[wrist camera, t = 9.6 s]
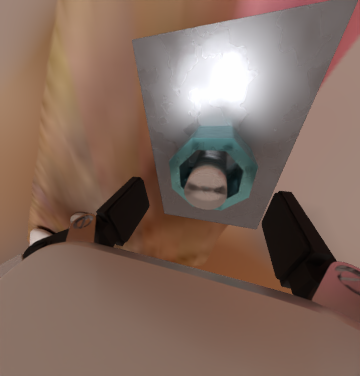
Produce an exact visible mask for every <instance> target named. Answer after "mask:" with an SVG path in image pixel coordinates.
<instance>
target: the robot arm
mask: <svg viewBox="0 0 360 376" xmlns="http://www.w3.org/2000/svg"><path fill="white" fill-rule="evenodd" d="M148 208H149V201H148V197H147V193H146V189H145V185H144V182H143V180H142V179H141V178H140V177H132V178H131V179H130V180H129V181H128V182H127V183H126V184H125V185H124V186H122V187H121V188H120V189H119V190H118V191H117V192H116V193H115V194H114V195H113V196H112V197H111V198H110V199H109V200H108V201H107V202H106V203H104V204H103V205H102V206H101V207H100V208H99V209H98V210H97V211H96V212H97V215H96V216H95V215H94V214H92V213H89V214H85V213H75V214H74V215H73V216H72V217H71V218H70V221H71V225H70V227H69V228H68V229H66V230H64V231H61V232H58V233H56V234H53V235H50V236H48V237H45V238H42V239H40V240H38V241H36V242H34V243H33V244H32V245H31V246H30V247H28V249H27V250H26V251H25V252H24V254H19V255H18V256H16V257H14V258H12V259H10V260H8V261H7V262H5V263H3V264H1V265H0V376H360V269H359V268H357V267H355V266H353V265H351V264H348V263H345V262H339V261H336V259H335V258H334V256H333V255H332V253H331V252H330V250H329V249H328V247H327V245H326V244H325V242H324V241H323V239H322V238H321V236H320V235H319V233H318V232H317V230H316V229H315V227H314V226H313V224H312V222H311V221H310V219H309V218H308V217H307V215H306V214H305V212H304V210H303V209H302V207H301V206H300V204H299V203H298V201H297V200H296V198H295V197H294V195H293V194H292V192H285V191H279V192H278V193H275V194H274V196H273V198H272V200H271V203H270V205H269V207H268V210H267V212H266V214H265V216H264V218H263V220H262V228H263V232H264V236H265V239H266V243H267V247H268V250H269V253H270V258H271V261H272V265H273V269H274V272H275V276H276V278H277V279H279V280H280V283H281V286H282V287H287V288H291V290H292V293H293V295H291V294H288V293H285V292H281V291H277V290H274V289H271V288H267V287H263V286H259V285H256V284H253V283H249V282H245V281H241V280H238V279H234V278H230V277H226V276H222V275H219V274H215V273H211V272H207V271H204V270H200V269H196V268H192V267H188V266H184V265H180V264H177V263H173V262H169V261H165V260H161V259H157V258H153V257H149V256H145V255H141V254H138V253H134V252H130V251H126V250H122V249H118V248H114V245H115V244H116V245H119V246H123V245H124V243H125V242H127V241H128V239H129V238H130V236H131V235H132V233H133V232H134V230H135V229H136V227H137V225H138V224H139V222H140V221H141V219H142V218H143V216H144V215H145V213H146V211H147V210H148Z"/></svg>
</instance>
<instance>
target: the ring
mask: <svg viewBox="0 0 360 376" xmlns="http://www.w3.org/2000/svg"><path fill="white" fill-rule="evenodd" d="M196 150H213V151H226V152H227V153H228V154H229V155H230V156H231V157H232V158H233V160H234V161H235V162H236V163H237V168H236V171H235V172H233V173H232V174H230V175H228V176H227V198H226V200H225V202H224V203H223V204H222V205H221V206H220V207H218V208H215V209H214V210H220V211H222V210H223V209H225V208H228V207H230V206H232V205H234V204H236V203H238V202H240V201H242V200H244V199H246V198H249V194H250V191H251V188H252V185H253V182H254V179H255V176H256V172H257V169H258V165H257V162H256V160H255V158H254V155H253V153H252V150H251V148H250V147H249V146H248V145H247V144H246V142H245V141H244V140H243V139H242V138H241V136H240V135H239V134H238V133H237V132H236V130H235V129H234V128H233V127H232V125H231V126H199V128H198V129H197V130H196V131H195V132H194V133H193V134H192V135H191V136H190V137H189V138H188V139H187V141H186V142H185V143H184V144H183V145H182V146H181V147H180V148H179V149H178V150H177V152H176V153H175V154H174V155H173V157H172V158H171V159H170V160H169V166H170V174H171V182H172V189H173V190H175V191H176V192H177V193H178V194H179V195H180V196H181V197H183V198H184V199H185V200H186V201H187V202H188V200H187V199H186V197H185V194H184V188H185V185H186V183H187V181H188V178H189V176H190V174H191V171H192V169H191V168H190V165H189V157H190V156H191V155H192V154H193V153H194V152H195V151H196ZM188 203H189V202H188ZM189 204H190V203H189ZM190 205H192V204H190ZM192 206H193V205H192ZM194 207H195V206H194Z"/></svg>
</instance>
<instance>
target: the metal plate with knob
mask: <svg viewBox="0 0 360 376" xmlns="http://www.w3.org/2000/svg"><path fill="white" fill-rule="evenodd" d="M357 2H358V0H330V1H325V2H320V3H315V4H310V5H305V6H300V7H295V8H290V9H285V10H279V11H274V12H269V13H264V14H259V15H254V16H249V17H244V18H239V19H234V20H229V21H224V22H219V23H214V24H209V25H204V26H199V27H194V28H189V29H184V30H179V31H174V32H169V33H164V34H159V35H154V36H149V37H144V38H139V39H134V40H132V43H133V49H134V54H135V59H136V65H137V70H138V75H139V81H140V86H141V91H142V97H143V102H144V107H145V113H146V118H147V123H148V129H149V134H150V139H151V144H152V150H153V155H154V160H155V166H156V171H157V176H158V182H159V187H160V192H161V198H162V203H163V208H164V214H170V215H176V216H182V217H188V218H193V219H199V220H205V221H211V222H216V223H222V224H228V225H234V226H240V227H246V228H252V229H257V227H258V225H259V222H260V220H261V218H262V216H263V213H264V211H265V209H266V206H267V204H268V202H269V200H270V198H271V195H272V193H273V191H274V188H275V186H276V184H277V182H278V180H279V177H280V175H281V173H282V171H283V168H284V166H285V164H286V161H287V159H288V157H289V155H290V153H291V150H292V148H293V146H294V144H295V141H296V139H297V137H298V135H299V132H300V130H301V128H302V126H303V123H304V121H305V119H306V116H307V114H308V112H309V110H310V107H311V105H312V103H313V101H314V99H315V96H316V94H317V92H318V90H319V87H320V85H321V83H322V81H323V78H324V76H325V74H326V72H327V69H328V67H329V65H330V63H331V60H332V58H333V56H334V54H335V51H336V49H337V47H338V45H339V42H340V40H341V38H342V36H343V33H344V31H345V29H346V27H347V24H348V22H349V20H350V18H351V15H352V13H353V11H354V9H355V6H356V4H357ZM231 125H232V127H233V128H234V129H235V130H236V132H237V133H238V134H239V135H240V136H241V138H242V139H243V140H244V141H245V142H246V144H247V145H248V146H249V147H250V148H251V150H252V153H253V155H254V158H255V160H256V162H257V165H258V169H257V172H256V176H255V179H254V182H253V185H252V188H251V191H250V194H249V198H246V199H244V200H242V201H240V202H238V203H236V204H234V205H232V206H230V207H228V208H225V209H223V210H222V211H220V210H214V209H215V208H218V207H220V206H221V205H222V204H223V203H224V202H225V200H226V198H227V176H228V175H230V174H232V173H233V172H235V171H236V168H237V163H236V162H235V161H234V160H233V158H232V157H231V156H230V155H229V154H228V153H227V152H226V151H213V150H196V151H195V152H194V153H193V154H192V155H191V156H190V157H189V165H190V168H191V169H192V171H191V174H190V176H189V178H188V181H187V183H186V185H185V188H184V194H185V197H186V199H187V200H188V202H189V203H190V204H192V205H193V206H192V205H190V204H189V203H188V202H187V201H186V200H185V199H184V198H183V197H181V196H180V195H179V194H178V193H177V192H176V191H175V190H173V189H172V182H171V174H170V166H169V160H170V159H171V158H172V157H173V155H174V154H175V153H176V152H177V150H178V149H179V148H180V147H181V146H182V145H183V144H184V143H185V142H186V141H187V139H188V138H189V137H190V136H191V135H192V134H193V133H194V132H195V131H196V130H197V129H198V128H199V126H231ZM194 206H195V207H194Z"/></svg>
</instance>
